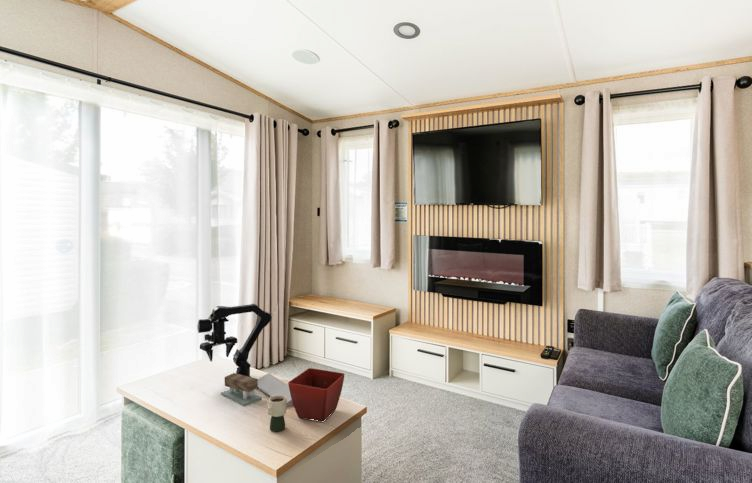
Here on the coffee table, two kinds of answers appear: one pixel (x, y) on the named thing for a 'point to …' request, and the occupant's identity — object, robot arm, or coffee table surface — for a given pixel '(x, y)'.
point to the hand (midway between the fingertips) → (219, 359)
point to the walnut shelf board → (241, 382)
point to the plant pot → (316, 393)
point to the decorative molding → (274, 387)
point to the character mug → (277, 412)
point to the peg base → (241, 396)
